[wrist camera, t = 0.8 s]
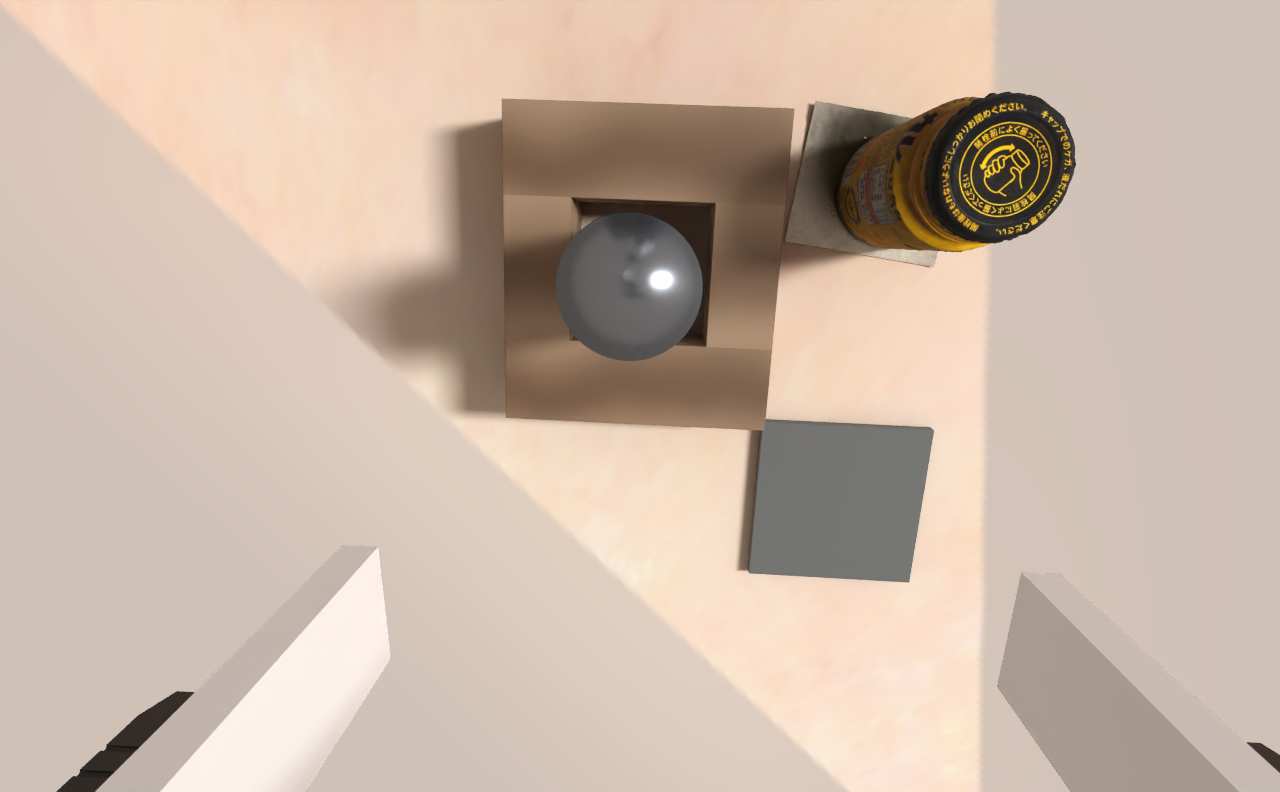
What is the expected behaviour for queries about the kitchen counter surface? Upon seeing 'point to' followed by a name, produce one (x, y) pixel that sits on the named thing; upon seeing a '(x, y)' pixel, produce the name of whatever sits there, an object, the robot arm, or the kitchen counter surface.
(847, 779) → the kitchen counter surface
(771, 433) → the mat
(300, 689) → the robot arm
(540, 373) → the housing
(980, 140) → the condiment
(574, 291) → the plug
